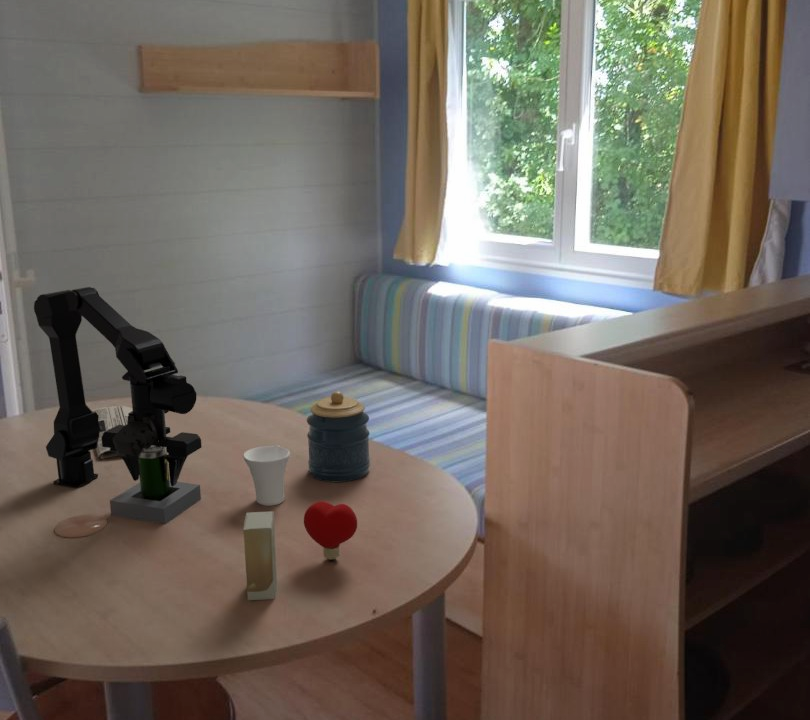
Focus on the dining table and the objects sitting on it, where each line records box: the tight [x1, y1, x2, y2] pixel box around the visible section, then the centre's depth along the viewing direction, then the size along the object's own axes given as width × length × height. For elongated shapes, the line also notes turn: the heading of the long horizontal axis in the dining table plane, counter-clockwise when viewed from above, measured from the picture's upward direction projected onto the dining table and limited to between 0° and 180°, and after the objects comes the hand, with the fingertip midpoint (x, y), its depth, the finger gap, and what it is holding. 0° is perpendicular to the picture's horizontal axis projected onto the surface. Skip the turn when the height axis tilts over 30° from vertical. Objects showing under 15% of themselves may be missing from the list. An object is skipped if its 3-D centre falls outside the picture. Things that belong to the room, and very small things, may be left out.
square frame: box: [109, 480, 202, 525], centre depth 171 cm, size 12×12×3 cm
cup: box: [242, 444, 291, 507], centre depth 173 cm, size 9×9×10 cm
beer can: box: [138, 445, 170, 501], centre depth 170 cm, size 5×5×12 cm
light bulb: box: [303, 500, 358, 561], centre depth 149 cm, size 9×7×10 cm
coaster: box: [54, 514, 108, 539], centre depth 163 cm, size 9×9×1 cm
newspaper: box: [90, 405, 133, 460], centre depth 213 cm, size 35×12×4 cm, turn 24°
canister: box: [306, 390, 371, 483], centre depth 186 cm, size 13×13×18 cm
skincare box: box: [243, 510, 278, 601], centre depth 138 cm, size 6×4×12 cm
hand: (154, 482), depth 170 cm, fingers open, 8 cm apart
